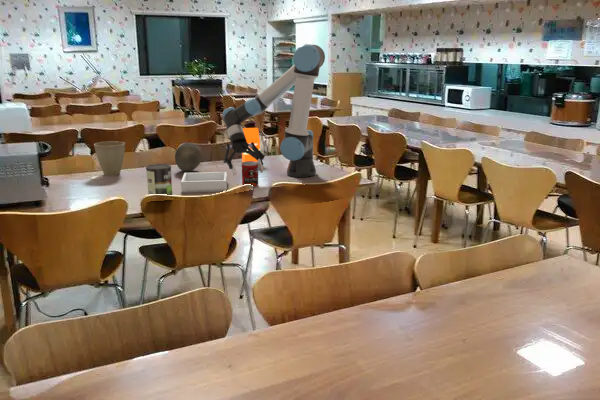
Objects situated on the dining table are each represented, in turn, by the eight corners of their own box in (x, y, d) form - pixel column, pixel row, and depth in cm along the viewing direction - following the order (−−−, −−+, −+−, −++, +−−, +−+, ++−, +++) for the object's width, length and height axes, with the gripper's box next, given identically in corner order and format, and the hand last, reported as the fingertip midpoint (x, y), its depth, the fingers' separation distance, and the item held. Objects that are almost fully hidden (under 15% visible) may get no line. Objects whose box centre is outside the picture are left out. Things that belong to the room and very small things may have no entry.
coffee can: (176, 196, 233) (175, 164, 230) (166, 202, 224) (164, 169, 220) (155, 194, 235) (152, 163, 232) (143, 201, 226) (141, 168, 222)
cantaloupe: (170, 173, 275) (168, 144, 271) (182, 168, 288) (181, 140, 284) (195, 175, 272) (194, 146, 268) (207, 169, 285) (205, 141, 281)
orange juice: (242, 162, 304) (241, 127, 298) (257, 161, 306) (256, 126, 301) (244, 165, 296) (244, 129, 291) (260, 164, 299) (259, 128, 293)
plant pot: (115, 178, 264) (112, 146, 260) (90, 176, 268) (87, 145, 264) (133, 172, 277) (131, 142, 273) (109, 170, 282) (107, 140, 278)
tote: (227, 181, 259) (226, 171, 257) (226, 191, 241) (226, 180, 240) (185, 182, 256) (184, 172, 255) (181, 192, 239) (180, 181, 238)
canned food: (243, 188, 248) (243, 164, 245) (240, 184, 255) (240, 161, 252) (259, 187, 250) (259, 164, 247) (256, 183, 257) (256, 160, 254)
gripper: (258, 139, 267) (270, 174, 259) (210, 142, 257) (221, 179, 248) (262, 130, 261) (275, 166, 253) (213, 133, 251) (225, 170, 242)
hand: (248, 172), depth 250 cm, fingers open, 13 cm apart
